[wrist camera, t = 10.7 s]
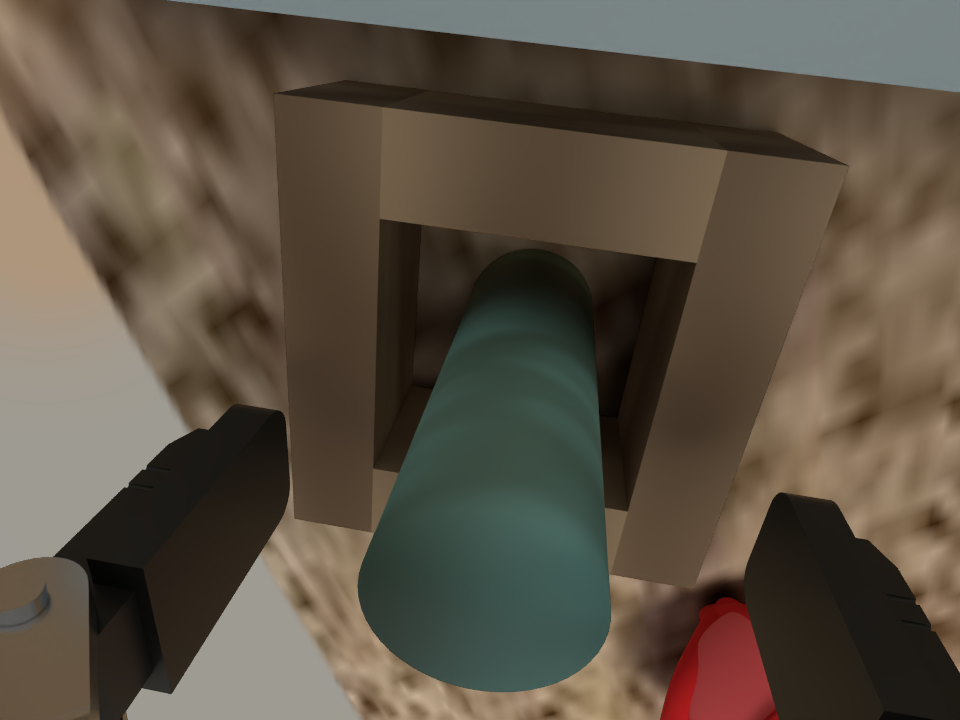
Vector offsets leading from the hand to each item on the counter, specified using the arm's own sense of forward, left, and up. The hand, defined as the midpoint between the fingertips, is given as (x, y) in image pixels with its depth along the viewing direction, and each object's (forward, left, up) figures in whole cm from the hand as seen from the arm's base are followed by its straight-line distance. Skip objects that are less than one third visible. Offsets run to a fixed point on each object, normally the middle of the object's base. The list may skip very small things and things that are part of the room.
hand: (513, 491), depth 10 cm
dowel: (0, 0, -7) cm, 7 cm away
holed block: (0, 0, -7) cm, 7 cm away
